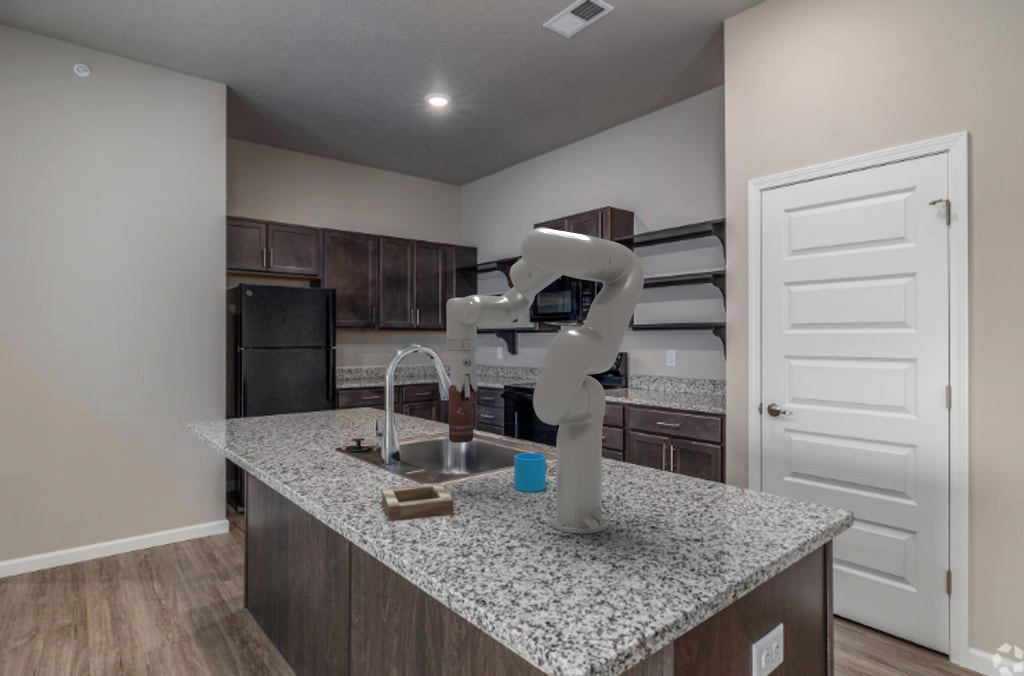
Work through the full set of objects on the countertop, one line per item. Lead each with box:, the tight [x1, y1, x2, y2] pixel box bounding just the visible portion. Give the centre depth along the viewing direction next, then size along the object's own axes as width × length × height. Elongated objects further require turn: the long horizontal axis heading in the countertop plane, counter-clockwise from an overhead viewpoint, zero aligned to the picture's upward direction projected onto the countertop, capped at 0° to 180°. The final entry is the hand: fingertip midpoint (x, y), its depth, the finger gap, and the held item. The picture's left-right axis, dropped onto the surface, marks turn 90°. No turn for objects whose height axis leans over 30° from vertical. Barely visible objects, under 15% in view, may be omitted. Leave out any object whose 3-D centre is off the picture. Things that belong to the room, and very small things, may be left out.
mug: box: [513, 452, 548, 493], centre depth 145 cm, size 12×8×8 cm
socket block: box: [381, 483, 454, 522], centre depth 126 cm, size 14×14×3 cm
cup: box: [448, 385, 474, 444], centre depth 139 cm, size 6×6×14 cm
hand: (462, 419), depth 138 cm, fingers closed, pressing on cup
